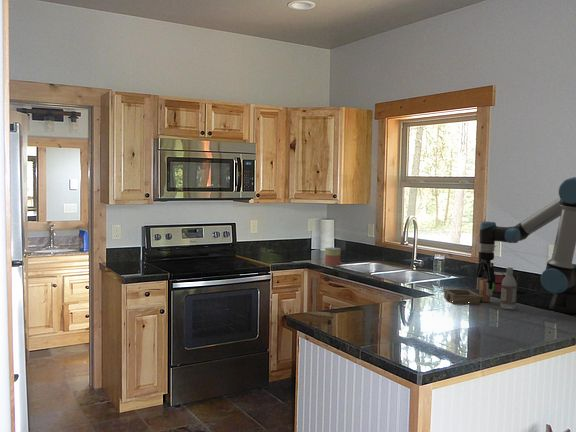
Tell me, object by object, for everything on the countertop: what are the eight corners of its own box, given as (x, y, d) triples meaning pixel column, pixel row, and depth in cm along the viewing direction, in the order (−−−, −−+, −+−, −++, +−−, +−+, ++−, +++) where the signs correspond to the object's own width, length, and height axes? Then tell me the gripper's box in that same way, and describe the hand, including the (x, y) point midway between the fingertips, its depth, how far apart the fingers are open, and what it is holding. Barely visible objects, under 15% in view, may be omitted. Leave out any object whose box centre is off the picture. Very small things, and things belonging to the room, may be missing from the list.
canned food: (343, 264, 403) (343, 248, 402) (335, 266, 393) (336, 249, 392) (329, 263, 409) (329, 247, 408) (321, 265, 399) (322, 248, 398)
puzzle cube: (513, 293, 309) (513, 275, 308) (494, 292, 311) (494, 274, 310) (509, 289, 319) (510, 272, 318) (491, 288, 321) (492, 271, 320)
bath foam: (497, 307, 273) (499, 266, 272) (509, 306, 275) (510, 266, 274) (506, 310, 266) (508, 269, 265) (518, 309, 268) (520, 268, 267)
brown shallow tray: (479, 304, 278) (480, 295, 277) (453, 304, 277) (453, 295, 277) (469, 298, 293) (469, 289, 293) (443, 297, 293) (444, 289, 293)
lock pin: (489, 301, 283) (490, 280, 283) (447, 301, 283) (448, 279, 282) (486, 299, 288) (487, 279, 287) (445, 299, 287) (446, 278, 287)
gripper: (503, 255, 272) (501, 297, 273) (484, 248, 296) (482, 287, 298) (488, 254, 271) (486, 297, 273) (470, 248, 296) (468, 287, 298)
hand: (484, 292), depth 285 cm, fingers open, 13 cm apart
